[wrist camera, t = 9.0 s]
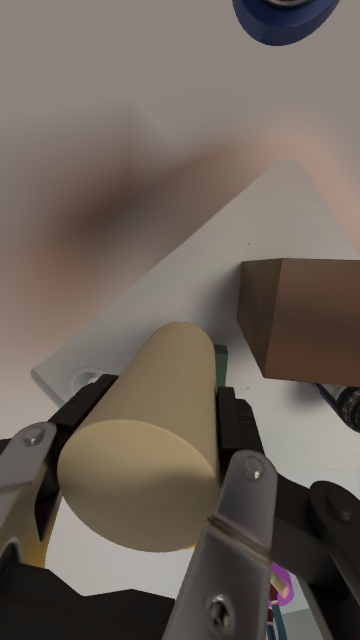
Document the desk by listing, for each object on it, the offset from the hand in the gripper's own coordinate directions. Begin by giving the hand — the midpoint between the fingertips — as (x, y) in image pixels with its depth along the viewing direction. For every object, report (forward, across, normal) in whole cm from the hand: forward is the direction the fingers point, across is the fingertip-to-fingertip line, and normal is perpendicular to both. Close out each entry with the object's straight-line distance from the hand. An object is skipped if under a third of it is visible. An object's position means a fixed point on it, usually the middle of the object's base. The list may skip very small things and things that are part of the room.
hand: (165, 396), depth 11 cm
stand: (+21, -10, -3) cm, 23 cm away
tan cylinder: (+5, 0, 0) cm, 5 cm away
